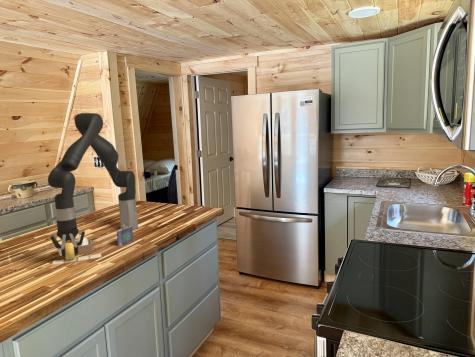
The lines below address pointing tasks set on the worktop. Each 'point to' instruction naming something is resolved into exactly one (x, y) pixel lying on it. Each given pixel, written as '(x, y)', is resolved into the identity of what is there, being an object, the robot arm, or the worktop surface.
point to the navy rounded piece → (124, 235)
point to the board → (81, 250)
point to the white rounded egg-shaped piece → (85, 241)
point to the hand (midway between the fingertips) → (70, 255)
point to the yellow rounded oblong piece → (69, 250)
